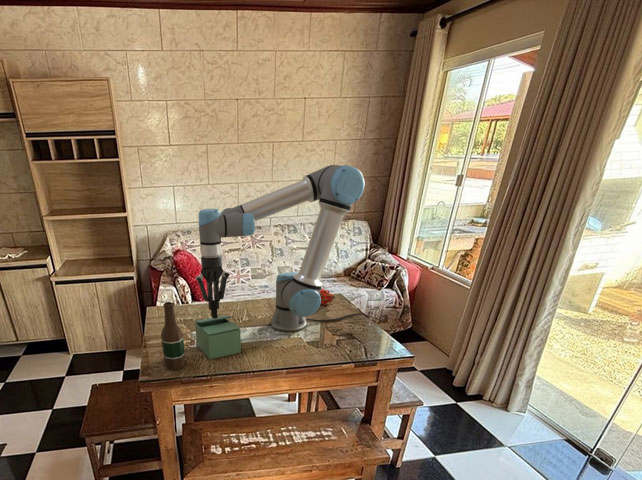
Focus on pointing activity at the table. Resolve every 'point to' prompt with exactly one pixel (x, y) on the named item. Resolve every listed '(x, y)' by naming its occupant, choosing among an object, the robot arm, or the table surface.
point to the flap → (213, 319)
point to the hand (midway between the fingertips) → (214, 317)
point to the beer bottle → (172, 340)
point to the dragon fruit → (326, 296)
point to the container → (218, 338)
